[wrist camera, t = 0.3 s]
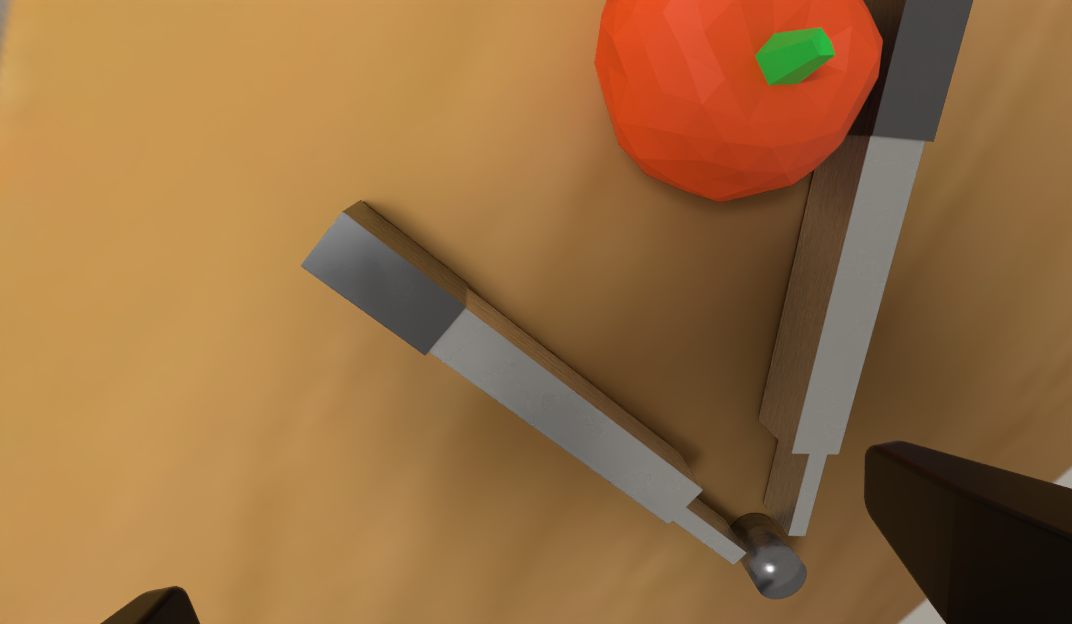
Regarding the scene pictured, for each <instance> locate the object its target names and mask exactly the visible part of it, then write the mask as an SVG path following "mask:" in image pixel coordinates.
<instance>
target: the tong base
mask: <svg viewBox="0 0 1072 624" xmlns="http://www.w3.org/2000/svg"><path fill="white" fill-rule="evenodd" d="M863 1H864V3H865V5H866V6H867V8H868V10H869V12H870V14H871V16H872V18H873V20H874V22H875V25H876V27H877V29H878V31H879V33H880V35H881V37H882V40H883V44H882V52H881V53H882V54H883V57H882V59H881V62H880V68H879V76H878V79H877V80H876V82H875V84H874V86H873V88H872V90H871V92H870V93H869V95H868V97H867V99H866V101H865V103H864V104H863V106H862V108H861V110H860V112H859V113H858V115H857V117H856V119H855V120H854V122H853V124H852V126H851V128H850V129H849V131H848V133H847V135H846V137H845V138H844V140H843V142H842V143H841V144H840V145H839V146H838V148H837V149H835V150H834V151H833V152H832V153H831V154H830V155H829V156H828V157H827V158H826V159H825V160H824V161H823V162H822V163H821V164H820V165H819V166H818V167H816V168H815V169H814V173H813V178H812V182H811V187H810V191H809V195H808V200H807V204H806V209H805V213H804V218H803V222H802V227H801V231H800V235H799V240H798V244H797V249H796V253H795V258H794V262H793V267H792V271H791V276H790V280H789V284H788V289H787V293H786V298H785V302H784V307H783V311H782V316H781V320H780V325H779V329H778V333H777V338H776V342H775V347H774V351H773V356H772V360H771V365H770V369H769V374H768V378H767V382H766V387H765V391H764V396H763V400H762V405H761V409H760V414H759V418H758V420H759V421H760V422H761V423H762V424H763V425H764V426H765V427H766V428H767V429H768V430H769V431H770V432H771V433H772V434H773V435H774V436H775V437H776V438H777V439H778V444H777V448H776V452H775V457H774V461H773V465H772V469H771V473H770V477H769V482H768V486H767V490H766V494H765V498H764V503H763V504H764V505H765V506H766V508H767V509H768V510H769V512H770V513H771V514H772V516H773V517H774V518H775V519H776V521H777V522H778V523H779V525H780V526H781V527H782V528H783V530H784V531H785V532H786V534H787V535H788V536H805V535H806V531H807V528H808V524H809V520H810V516H811V513H812V509H813V505H814V502H815V498H816V494H817V490H818V487H819V483H820V479H821V476H822V472H823V468H824V465H825V461H826V457H827V454H839V451H840V447H841V444H842V440H843V437H844V433H845V429H846V426H847V422H848V419H849V415H850V411H851V408H852V404H853V400H854V397H855V393H856V390H857V386H858V382H859V379H860V375H861V372H862V368H863V364H864V361H865V357H866V353H867V350H868V346H869V343H870V339H871V335H872V332H873V328H874V325H875V321H876V317H877V314H878V310H879V306H880V303H881V299H882V296H883V292H884V288H885V285H886V281H887V278H888V274H889V270H890V267H891V263H892V260H893V256H894V252H895V249H896V245H897V241H898V238H899V234H900V231H901V227H902V223H903V220H904V216H905V213H906V209H907V205H908V202H909V198H910V194H911V191H912V187H913V184H914V180H915V176H916V173H917V169H918V166H919V162H920V158H921V155H922V151H923V148H924V144H925V141H932V142H934V138H935V135H936V131H937V127H938V124H939V120H940V117H941V113H942V110H943V106H944V102H945V99H946V95H947V92H948V88H949V85H950V81H951V78H952V74H953V70H954V67H955V63H956V60H957V56H958V53H959V49H960V46H961V42H962V38H963V35H964V31H965V28H966V24H967V21H968V17H969V13H970V10H971V6H972V3H973V0H863ZM731 529H732V531H733V532H734V534H735V535H736V537H737V538H738V540H739V542H740V543H741V545H742V546H743V548H744V549H745V551H746V552H747V553H746V554H745V555H744V556H743V557H742V558H741V559H740V561H741V563H742V564H743V566H744V568H745V569H746V571H747V572H748V574H749V576H750V577H751V579H752V581H753V582H754V584H755V585H756V587H757V589H758V590H759V592H760V593H761V594H762V595H763V596H765V597H767V598H770V599H782V598H786V597H788V596H790V595H792V594H794V593H795V592H797V591H798V590H799V589H800V588H801V587H802V585H803V584H804V582H805V579H806V574H807V572H806V567H805V565H804V564H803V563H802V561H801V560H800V559H799V557H798V556H797V555H796V553H795V552H794V551H793V550H792V548H791V547H790V546H789V544H788V543H787V542H786V540H785V539H784V538H783V536H782V535H781V534H780V532H779V531H778V530H777V529H776V527H775V526H774V525H773V523H772V522H771V521H770V519H769V518H768V517H766V516H764V515H762V514H756V513H754V514H748V515H745V516H743V517H741V518H739V519H738V520H737V521H735V522H734V524H733V525H732V526H731Z"/></svg>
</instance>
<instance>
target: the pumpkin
mask: <svg viewBox="0 0 1072 624" xmlns="http://www.w3.org/2000/svg"><path fill="white" fill-rule="evenodd" d="M882 44H883V40H882V37H881V35H880V33H879V31H878V29H877V27H876V25H875V22H874V20H873V18H872V16H871V14H870V12H869V10H868V8H867V6H866V5H865V3H864V1H863V0H607V1H606V4H605V7H604V10H603V13H602V17H601V23H600V30H599V37H598V44H597V50H596V57H595V66H596V70H597V73H598V77H599V80H600V84H601V87H602V90H603V94H604V97H605V101H606V104H607V107H608V111H609V114H610V117H611V120H612V123H613V126H614V130H615V133H616V136H617V139H618V142H619V145H620V146H621V147H622V148H623V149H624V150H625V151H626V153H627V154H628V155H629V156H630V157H631V158H632V159H633V160H634V161H635V162H636V164H637V165H638V166H639V167H640V168H641V169H642V170H643V171H644V172H645V173H646V174H647V175H649V176H652V177H654V178H656V179H658V180H661V181H663V182H665V183H667V184H670V185H672V186H674V187H677V188H679V189H681V190H683V191H686V192H689V193H692V194H696V195H699V196H702V197H705V198H708V199H711V200H715V201H718V202H723V201H728V200H732V199H736V198H741V197H745V196H749V195H754V194H758V193H762V192H766V191H770V190H774V189H778V188H782V187H786V186H790V185H793V184H794V183H796V182H797V181H799V180H800V179H801V178H803V177H804V176H805V175H807V174H808V173H810V172H811V171H812V170H814V169H815V168H816V167H818V166H819V165H820V164H821V163H822V162H823V161H824V160H825V159H826V158H827V157H828V156H829V155H830V154H831V153H832V152H833V151H834V150H835V149H837V148H838V146H839V145H840V144H841V143H842V142H843V140H844V138H845V137H846V135H847V133H848V131H849V129H850V128H851V126H852V124H853V122H854V120H855V119H856V117H857V115H858V113H859V112H860V110H861V108H862V106H863V104H864V103H865V101H866V99H867V97H868V95H869V93H870V92H871V90H872V88H873V86H874V84H875V82H876V80H877V79H878V76H879V68H880V62H881V59H882V57H883V54H882V53H881V52H882Z"/></svg>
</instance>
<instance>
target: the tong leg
mask: <svg viewBox="0 0 1072 624" xmlns="http://www.w3.org/2000/svg"><path fill="white" fill-rule="evenodd" d="M301 267H303V268H304V269H306V270H307V271H308V272H310V273H311V274H312V275H314V276H315V277H317V278H318V279H319V280H321V281H322V282H324V283H325V284H326V285H328V286H329V287H331V288H332V289H333V290H335V291H336V292H338V293H339V294H340V295H342V296H343V297H344V298H346V299H347V300H349V301H350V302H351V303H353V304H354V305H356V306H357V307H358V308H360V309H361V310H363V311H364V312H365V313H367V314H368V315H370V316H371V317H372V318H374V319H375V320H377V321H378V322H379V323H381V324H382V325H383V326H385V327H386V328H388V329H389V330H390V331H392V332H393V333H395V334H396V335H397V336H399V337H400V338H402V339H403V340H404V341H406V342H407V343H409V344H410V345H411V346H413V347H414V348H415V349H417V350H418V351H420V352H421V353H422V354H424V355H426V354H427V353H428V352H430V353H432V354H433V355H434V356H436V357H437V358H439V359H440V360H441V361H443V362H444V363H445V364H447V365H448V366H450V367H451V368H452V369H454V370H455V371H457V372H458V373H459V374H461V375H462V376H463V377H465V378H466V379H468V380H469V381H470V382H472V383H473V384H475V385H476V386H477V387H479V388H480V389H481V390H483V391H484V392H486V393H487V394H488V395H490V396H491V397H493V398H494V399H495V400H497V401H498V402H499V403H501V404H502V405H504V406H505V407H506V408H508V409H509V410H511V411H512V412H513V413H515V414H516V415H517V416H519V417H520V418H522V419H523V420H524V421H526V422H527V423H529V424H530V425H531V426H533V427H534V428H535V429H537V430H538V431H540V432H541V433H542V434H544V435H545V436H547V437H548V438H549V439H551V440H552V441H553V442H555V443H556V444H558V445H559V446H560V447H562V448H563V449H565V450H566V451H567V452H569V453H570V454H571V455H573V456H574V457H576V458H577V459H578V460H580V461H581V462H583V463H584V464H585V465H587V466H588V467H589V468H591V469H592V470H594V471H595V472H596V473H598V474H599V475H601V476H602V477H603V478H605V479H606V480H607V481H609V482H610V483H612V484H613V485H614V486H616V487H617V488H619V489H620V490H621V491H623V492H624V493H625V494H627V495H628V496H630V497H631V498H632V499H634V500H635V501H637V502H638V503H639V504H641V505H642V506H643V507H645V508H646V509H648V510H649V511H650V512H652V513H653V514H655V515H656V516H657V517H659V518H660V519H661V520H663V521H664V522H666V523H667V524H669V523H670V522H671V521H672V520H673V521H674V522H676V523H677V524H678V525H680V526H681V527H683V528H684V529H685V530H687V531H688V532H689V533H691V534H692V535H693V536H695V537H696V538H698V539H699V540H700V541H702V542H703V543H704V544H706V545H707V546H709V547H710V548H711V549H713V550H714V551H715V552H717V553H718V554H720V555H721V556H722V557H724V558H725V559H726V560H728V561H729V562H731V563H732V564H733V565H734V564H735V563H736V562H738V561H739V560H740V559H741V558H742V557H743V556H744V555H745V554H746V553H747V552H746V551H745V549H744V548H743V546H742V545H741V543H740V542H739V540H738V538H737V537H736V535H735V534H734V532H733V531H732V529H731V528H730V526H729V525H728V523H727V522H726V520H725V519H724V518H723V517H721V516H720V515H719V514H717V513H716V512H715V511H713V510H712V509H711V508H710V507H708V506H707V505H706V504H704V503H703V502H702V501H700V500H699V499H698V498H696V497H697V496H698V495H699V494H700V493H701V492H702V491H703V489H702V487H701V486H700V484H699V483H698V481H697V480H696V478H695V477H694V475H693V473H692V472H691V470H690V469H689V467H688V466H687V464H686V463H685V461H684V459H683V458H682V456H681V455H680V453H679V452H678V451H677V450H675V449H674V448H673V447H672V446H670V445H669V444H668V443H666V442H665V441H664V440H663V439H661V438H660V437H659V436H657V435H656V434H655V433H654V432H652V431H651V430H650V429H648V428H647V427H646V426H645V425H643V424H642V423H641V422H639V421H638V420H637V419H636V418H634V417H633V416H632V415H630V414H629V413H628V412H627V411H625V410H624V409H623V408H622V407H620V406H619V405H618V404H616V403H615V402H614V401H613V400H611V399H610V398H609V397H607V396H606V395H605V394H604V393H602V392H601V391H600V390H598V389H597V388H596V387H595V386H593V385H592V384H591V383H589V382H588V381H587V380H586V379H584V378H583V377H582V376H580V375H579V374H578V373H577V372H575V371H574V370H573V369H571V368H570V367H569V366H568V365H566V364H565V363H564V362H562V361H561V360H560V359H559V358H557V357H556V356H555V355H553V354H552V353H551V352H550V351H548V350H547V349H546V348H545V347H543V346H542V345H541V344H539V343H538V342H537V341H536V340H534V339H533V338H532V337H530V336H529V335H528V334H527V333H525V332H524V331H523V330H521V329H520V328H519V327H518V326H516V325H515V324H514V323H512V322H511V321H510V320H509V319H507V318H506V317H505V316H503V315H502V314H501V313H500V312H498V311H497V310H496V309H494V308H493V307H492V306H491V305H489V304H488V303H487V302H485V301H484V300H483V299H482V298H480V297H479V296H478V295H476V294H475V293H474V292H473V291H471V290H470V289H469V288H468V287H467V283H466V282H464V281H463V280H462V279H461V278H459V277H458V276H457V275H455V274H454V273H453V272H452V271H450V270H449V269H448V268H447V267H445V266H444V265H443V264H441V263H440V262H439V261H438V260H436V259H435V258H434V257H432V256H431V255H430V254H429V253H427V252H426V251H425V250H423V249H422V248H421V247H420V246H418V245H417V244H416V243H415V242H413V241H412V240H411V239H409V238H408V237H407V236H406V235H404V234H403V233H402V232H400V231H399V230H398V229H397V228H395V227H394V226H393V225H392V224H390V223H389V222H388V221H386V220H385V219H384V218H383V217H381V216H380V215H379V214H377V213H376V212H375V211H374V210H372V209H371V208H370V207H368V206H367V205H366V204H365V203H363V202H362V201H361V200H360V201H358V202H357V203H355V204H354V205H352V206H351V207H349V208H347V209H346V210H344V211H343V212H342V213H341V214H340V216H339V217H338V218H337V219H336V221H335V222H334V223H333V225H332V226H331V227H330V228H329V230H328V231H327V232H326V234H325V235H324V236H323V237H322V239H321V240H320V241H319V243H318V244H317V245H316V247H315V248H314V249H313V250H312V252H311V253H310V254H309V256H308V257H307V258H306V259H305V261H304V262H303V263H302V265H301Z"/></svg>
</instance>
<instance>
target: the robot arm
mask: <svg viewBox="0 0 1072 624" xmlns="http://www.w3.org/2000/svg"><path fill="white" fill-rule="evenodd" d="M864 499H865V505H866V508H867V511H868V513H869V515H870V517H871V518H872V520H873V521H874V523H875V524H876V526H877V527H878V528H879V530H880V531H881V533H882V534H883V536H884V537H885V538H886V540H887V541H888V543H889V544H890V546H891V547H892V548H893V550H894V551H895V553H896V554H897V556H898V557H899V558H900V560H901V561H902V563H903V564H904V566H905V567H906V568H907V570H908V571H909V573H910V574H911V575H912V577H913V578H914V580H915V581H916V583H917V584H918V585H919V587H920V588H921V590H922V591H923V593H924V594H925V595H926V597H927V598H928V600H929V601H930V603H931V604H932V605H933V607H934V608H935V609H936V611H937V612H938V613H939V615H940V616H941V617H942V619H943V620H944V621H945V623H946V624H1072V489H1071V488H1067V487H1063V486H1060V485H1057V484H1053V483H1050V482H1046V481H1043V480H1039V479H1035V478H1032V477H1028V476H1025V475H1021V474H1018V473H1014V472H1011V471H1007V470H1004V469H1000V468H996V467H993V466H989V465H986V464H982V463H979V462H975V461H972V460H968V459H965V458H961V457H957V456H954V455H950V454H947V453H943V452H940V451H936V450H933V449H929V448H926V447H922V446H918V445H915V444H911V443H908V442H904V441H892V442H887V443H882V444H877V445H873V446H871V447H869V448H868V449H867V451H866V454H865V479H864ZM101 624H200V622H199V620H198V618H197V615H196V613H195V611H194V608H193V606H192V604H191V601H190V599H189V597H188V594H187V593H186V591H185V590H184V589H183V588H181V587H178V586H172V587H167V588H162V589H157V590H152V591H148V592H145V593H143V594H141V595H140V596H138V597H137V598H135V599H134V600H133V601H131V602H130V603H128V604H127V605H126V606H124V607H123V608H121V609H120V610H119V611H117V612H116V613H115V614H113V615H112V616H110V617H109V618H108V619H106V620H105V621H104V622H102V623H101Z"/></svg>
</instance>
